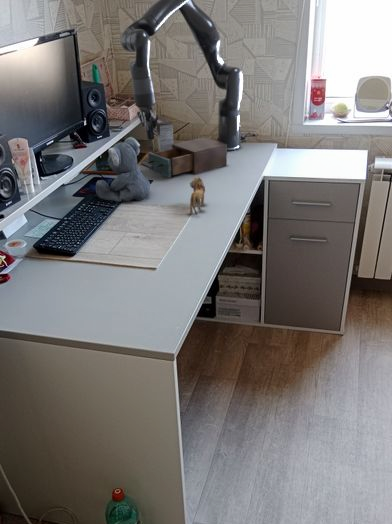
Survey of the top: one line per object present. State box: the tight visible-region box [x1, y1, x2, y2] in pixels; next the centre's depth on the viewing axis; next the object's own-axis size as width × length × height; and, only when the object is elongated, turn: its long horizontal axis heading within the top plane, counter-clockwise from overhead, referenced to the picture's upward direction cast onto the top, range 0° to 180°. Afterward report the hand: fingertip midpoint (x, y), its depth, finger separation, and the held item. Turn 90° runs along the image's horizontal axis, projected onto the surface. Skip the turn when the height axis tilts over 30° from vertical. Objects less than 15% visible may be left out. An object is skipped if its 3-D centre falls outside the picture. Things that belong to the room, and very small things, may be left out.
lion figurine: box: [189, 176, 206, 216], centre depth 191 cm, size 15×5×9 cm, turn 0°
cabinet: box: [172, 136, 228, 175], centre depth 231 cm, size 17×15×9 cm
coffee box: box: [151, 117, 174, 154], centre depth 236 cm, size 9×6×16 cm
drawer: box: [140, 148, 193, 179], centre depth 223 cm, size 21×14×7 cm, turn 128°
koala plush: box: [95, 136, 151, 203], centre depth 200 cm, size 17×18×20 cm
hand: (151, 139), depth 216 cm, fingers closed
